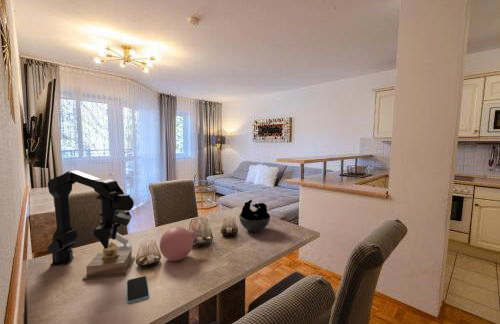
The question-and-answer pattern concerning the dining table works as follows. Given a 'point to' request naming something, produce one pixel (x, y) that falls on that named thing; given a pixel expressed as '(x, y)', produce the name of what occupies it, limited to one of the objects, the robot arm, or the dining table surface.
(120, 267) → the taupe square box
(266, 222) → the bowl of black rocks
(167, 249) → the pink rounded piece
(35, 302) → the dining table surface
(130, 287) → the smartphone
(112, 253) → the brass bracket
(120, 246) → the white spotlight lamp
